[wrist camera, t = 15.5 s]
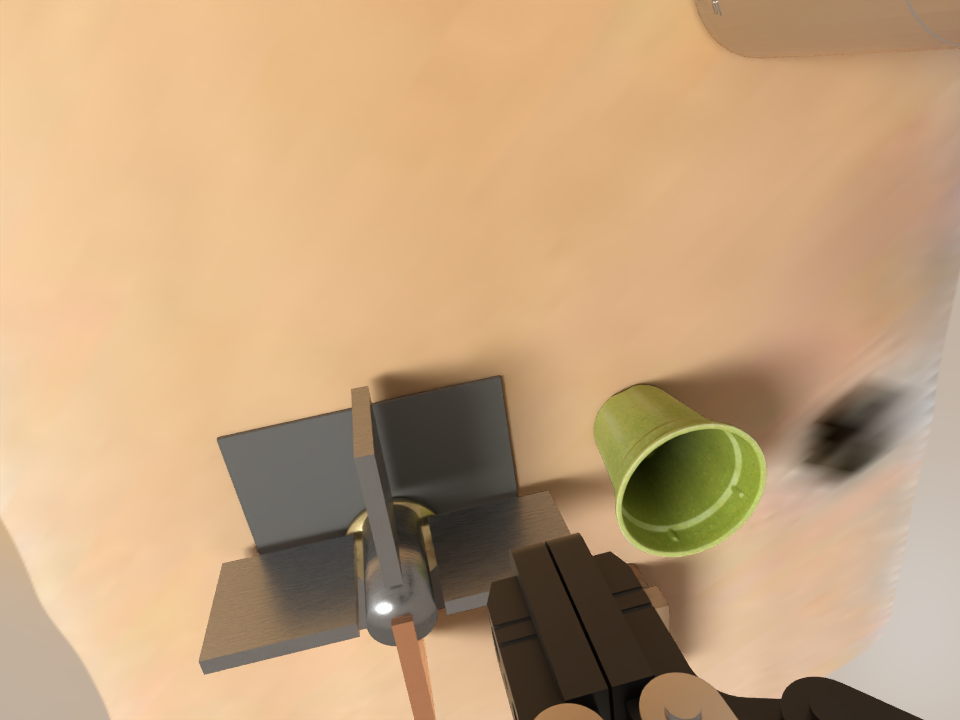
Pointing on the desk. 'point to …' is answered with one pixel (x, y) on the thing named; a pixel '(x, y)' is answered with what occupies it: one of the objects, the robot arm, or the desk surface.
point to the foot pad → (408, 459)
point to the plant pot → (676, 472)
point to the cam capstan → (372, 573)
